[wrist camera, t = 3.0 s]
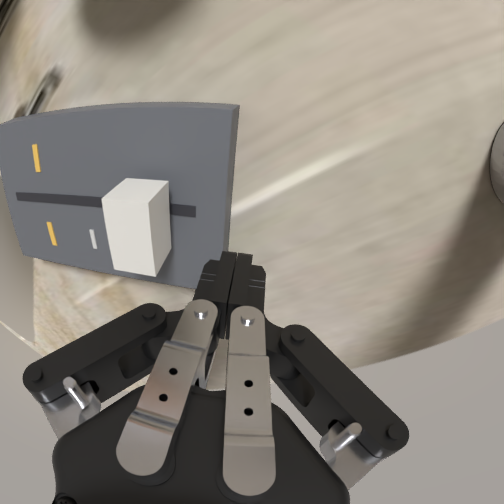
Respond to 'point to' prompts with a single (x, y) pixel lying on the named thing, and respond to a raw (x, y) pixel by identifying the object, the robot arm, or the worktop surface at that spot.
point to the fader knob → (138, 225)
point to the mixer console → (114, 172)
